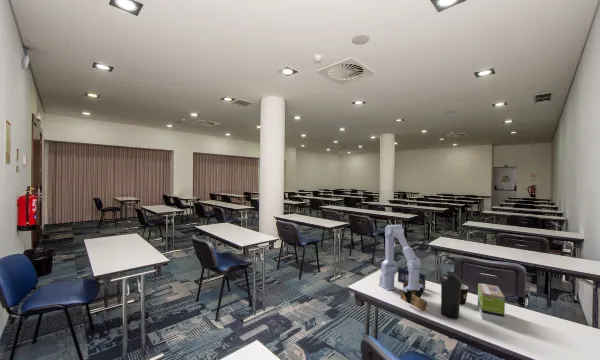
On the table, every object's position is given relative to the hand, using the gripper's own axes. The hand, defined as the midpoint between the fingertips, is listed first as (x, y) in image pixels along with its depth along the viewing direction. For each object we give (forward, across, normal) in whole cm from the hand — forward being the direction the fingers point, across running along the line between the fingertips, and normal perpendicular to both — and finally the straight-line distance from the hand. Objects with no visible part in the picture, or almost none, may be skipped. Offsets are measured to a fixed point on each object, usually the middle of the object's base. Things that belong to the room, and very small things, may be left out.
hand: (413, 301), depth 155 cm
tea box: (+2, +30, -26) cm, 40 cm away
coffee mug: (+2, +27, -9) cm, 29 cm away
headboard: (+1, +12, +9) cm, 15 cm away
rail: (+2, 0, 0) cm, 2 cm away
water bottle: (+2, +9, -17) cm, 19 cm away
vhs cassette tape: (+2, +21, +20) cm, 29 cm away
